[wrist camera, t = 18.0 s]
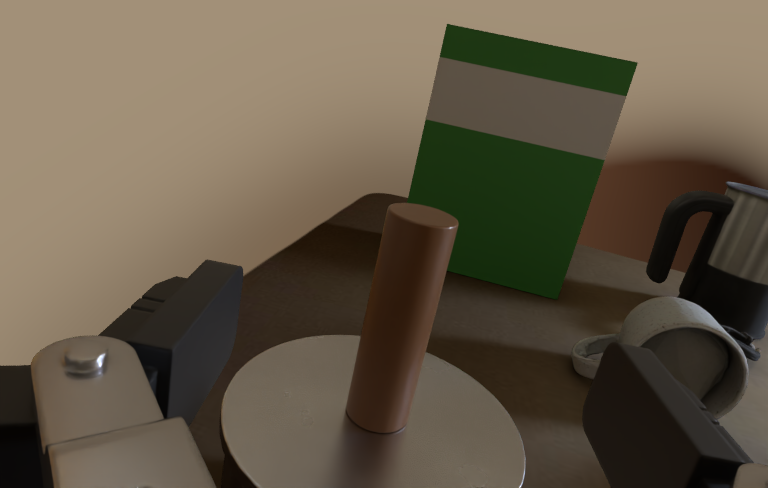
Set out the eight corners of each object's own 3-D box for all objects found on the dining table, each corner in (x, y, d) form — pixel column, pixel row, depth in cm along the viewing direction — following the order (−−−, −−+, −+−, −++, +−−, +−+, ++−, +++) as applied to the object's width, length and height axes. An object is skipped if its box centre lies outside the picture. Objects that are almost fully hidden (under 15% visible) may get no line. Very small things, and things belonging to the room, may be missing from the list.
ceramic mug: (696, 383, 45) (732, 300, 42) (724, 442, 37) (769, 345, 35) (566, 344, 47) (593, 264, 45) (568, 392, 40) (600, 298, 37)
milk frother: (727, 307, 66) (781, 190, 61) (838, 383, 51) (921, 237, 46) (619, 289, 64) (665, 167, 59) (702, 363, 49) (772, 208, 44)
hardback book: (551, 275, 63) (620, 64, 56) (557, 299, 56) (637, 62, 49) (406, 238, 66) (453, 30, 58) (395, 256, 59) (447, 24, 51)
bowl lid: (230, 607, 14) (279, 282, 11) (209, 357, 24) (232, 152, 21) (581, 542, 18) (686, 298, 15) (439, 354, 28) (486, 184, 25)
